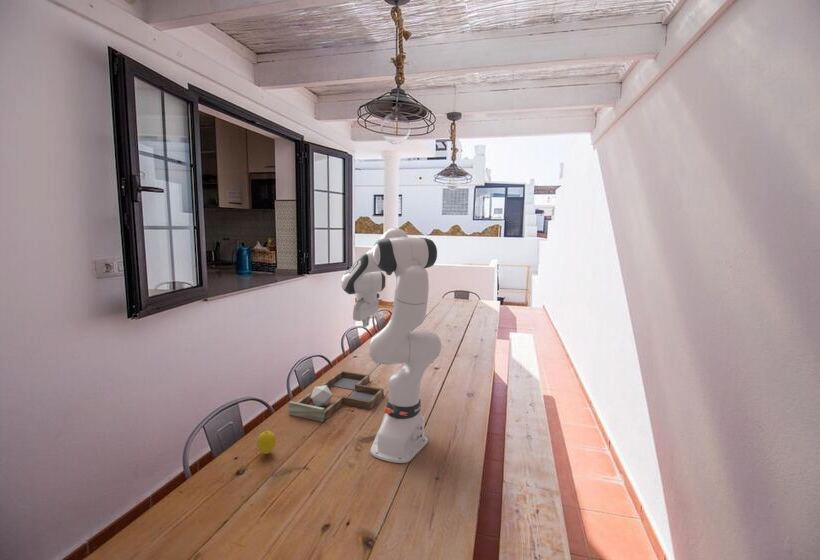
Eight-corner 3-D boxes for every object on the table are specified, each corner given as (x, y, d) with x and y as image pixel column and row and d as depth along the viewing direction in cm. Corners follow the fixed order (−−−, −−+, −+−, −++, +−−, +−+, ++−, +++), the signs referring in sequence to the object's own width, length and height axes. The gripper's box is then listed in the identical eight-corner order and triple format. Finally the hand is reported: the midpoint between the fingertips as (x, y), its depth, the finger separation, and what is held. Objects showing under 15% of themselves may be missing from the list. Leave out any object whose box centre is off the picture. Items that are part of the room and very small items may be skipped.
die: (327, 412, 155) (337, 389, 158) (308, 403, 152) (319, 381, 156) (323, 410, 162) (333, 389, 166) (305, 402, 160) (315, 380, 163)
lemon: (265, 460, 120) (264, 437, 119) (254, 455, 123) (253, 432, 122) (279, 452, 125) (278, 429, 124) (268, 447, 128) (267, 424, 127)
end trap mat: (354, 390, 174) (354, 389, 174) (331, 386, 178) (331, 385, 178) (364, 381, 184) (364, 381, 184) (342, 378, 188) (342, 377, 188)
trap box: (351, 428, 142) (352, 415, 141) (288, 414, 150) (288, 402, 150) (393, 385, 181) (393, 375, 181) (341, 376, 190) (341, 366, 190)
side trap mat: (368, 406, 159) (368, 406, 159) (343, 402, 162) (343, 401, 162) (378, 396, 169) (378, 395, 169) (355, 391, 173) (355, 391, 173)
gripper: (362, 301, 161) (362, 332, 163) (381, 293, 180) (380, 321, 182) (349, 299, 163) (349, 331, 165) (368, 292, 182) (368, 320, 184)
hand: (365, 326), depth 174 cm, fingers closed
